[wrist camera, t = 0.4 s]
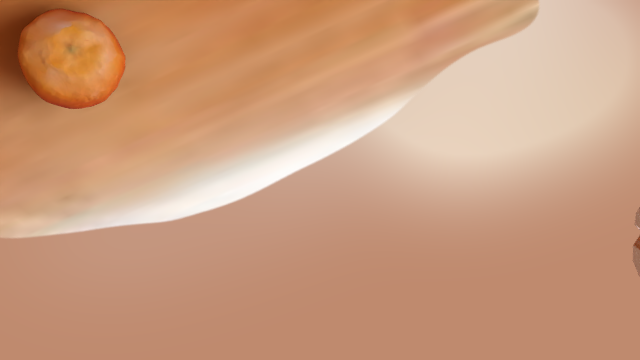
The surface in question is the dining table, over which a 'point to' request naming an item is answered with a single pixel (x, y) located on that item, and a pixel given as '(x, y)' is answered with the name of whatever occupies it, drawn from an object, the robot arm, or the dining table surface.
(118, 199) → the dining table surface
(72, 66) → the fruit
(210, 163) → the dining table surface
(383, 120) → the dining table surface
